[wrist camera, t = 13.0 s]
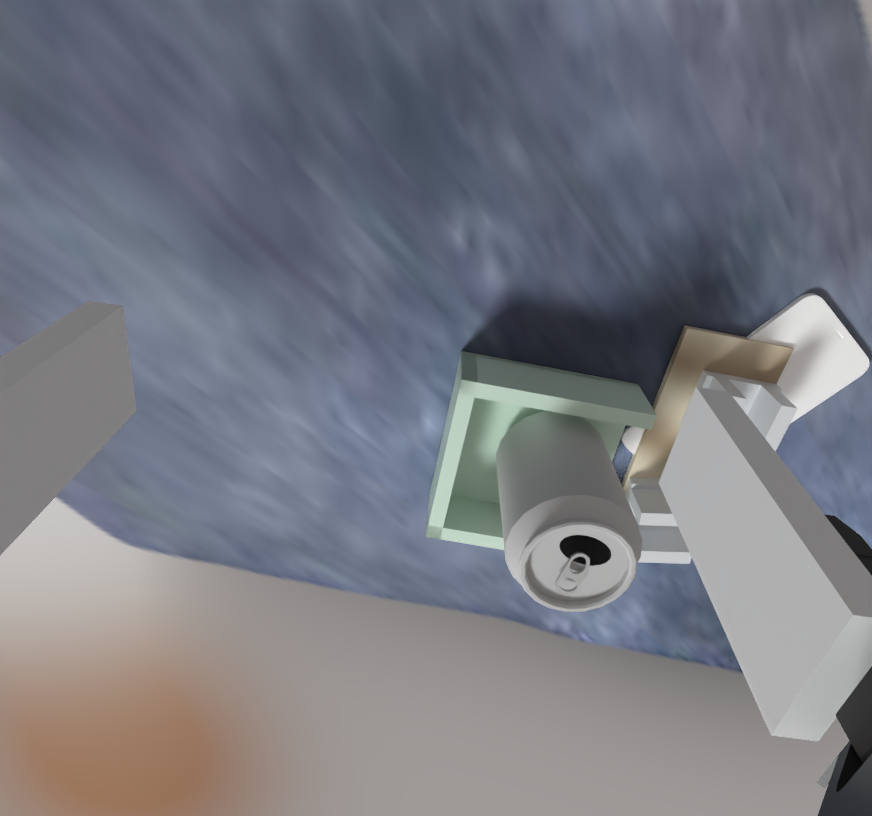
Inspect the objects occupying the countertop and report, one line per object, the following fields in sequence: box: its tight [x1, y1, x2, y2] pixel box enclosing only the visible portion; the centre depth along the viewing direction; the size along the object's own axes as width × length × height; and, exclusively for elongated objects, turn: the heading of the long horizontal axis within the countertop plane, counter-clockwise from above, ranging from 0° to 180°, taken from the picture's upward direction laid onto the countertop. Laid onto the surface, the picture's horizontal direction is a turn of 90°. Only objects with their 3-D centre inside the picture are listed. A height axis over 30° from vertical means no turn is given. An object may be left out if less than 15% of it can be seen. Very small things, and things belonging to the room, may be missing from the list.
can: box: [496, 411, 642, 612], centre depth 37 cm, size 8×8×12 cm
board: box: [621, 325, 794, 495], centre depth 43 cm, size 17×7×1 cm, turn 169°
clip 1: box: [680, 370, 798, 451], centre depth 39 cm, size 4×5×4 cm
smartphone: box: [621, 293, 869, 455], centre depth 41 cm, size 7×1×15 cm
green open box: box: [426, 351, 657, 550], centre depth 41 cm, size 12×12×4 cm
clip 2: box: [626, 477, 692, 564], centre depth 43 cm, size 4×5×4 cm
